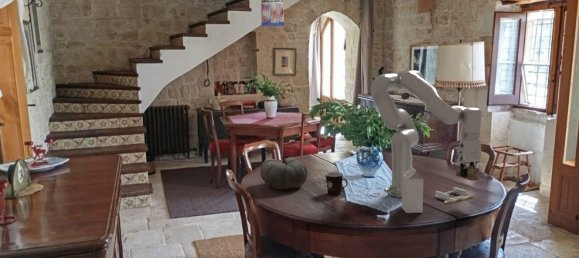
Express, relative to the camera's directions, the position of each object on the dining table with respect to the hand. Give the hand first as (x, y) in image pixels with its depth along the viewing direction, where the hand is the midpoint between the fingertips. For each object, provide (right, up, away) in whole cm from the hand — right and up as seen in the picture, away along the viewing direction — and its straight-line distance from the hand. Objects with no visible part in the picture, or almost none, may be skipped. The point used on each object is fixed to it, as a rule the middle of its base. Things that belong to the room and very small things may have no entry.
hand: (467, 175), depth 195 cm
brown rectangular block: (0, -1, 0) cm, 1 cm away
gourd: (-82, -10, +37) cm, 90 cm away
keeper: (-2, -12, +14) cm, 18 cm away
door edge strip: (0, -13, +8) cm, 15 cm away
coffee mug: (-57, -12, +21) cm, 61 cm away
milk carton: (-26, -15, -3) cm, 30 cm away
